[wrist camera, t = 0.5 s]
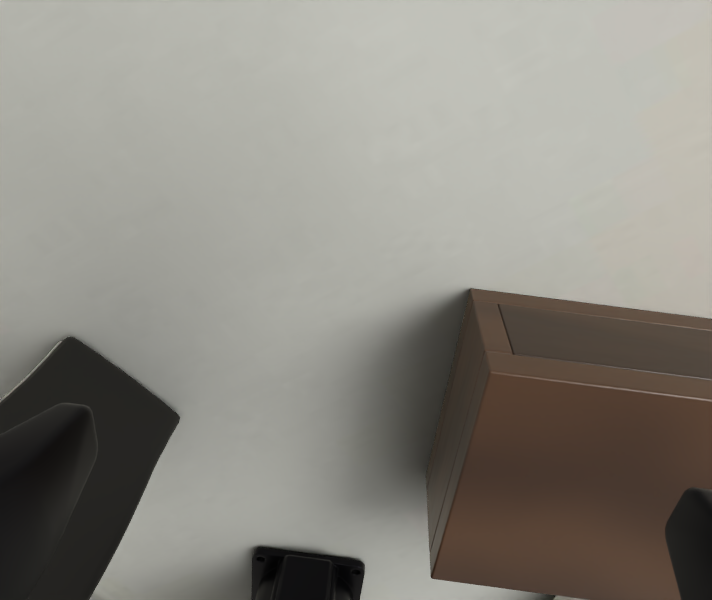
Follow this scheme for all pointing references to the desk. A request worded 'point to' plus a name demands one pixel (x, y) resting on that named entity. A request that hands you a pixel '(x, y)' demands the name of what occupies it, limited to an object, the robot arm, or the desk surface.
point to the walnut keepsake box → (568, 446)
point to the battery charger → (113, 462)
